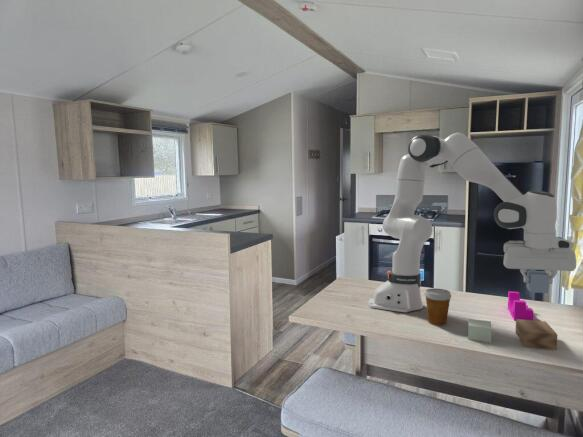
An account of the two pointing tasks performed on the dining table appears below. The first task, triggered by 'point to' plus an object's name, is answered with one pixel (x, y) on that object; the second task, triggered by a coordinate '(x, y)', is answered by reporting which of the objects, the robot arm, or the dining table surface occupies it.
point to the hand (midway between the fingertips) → (537, 282)
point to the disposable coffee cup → (437, 305)
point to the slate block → (538, 281)
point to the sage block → (479, 330)
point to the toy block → (518, 307)
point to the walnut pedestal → (536, 334)
